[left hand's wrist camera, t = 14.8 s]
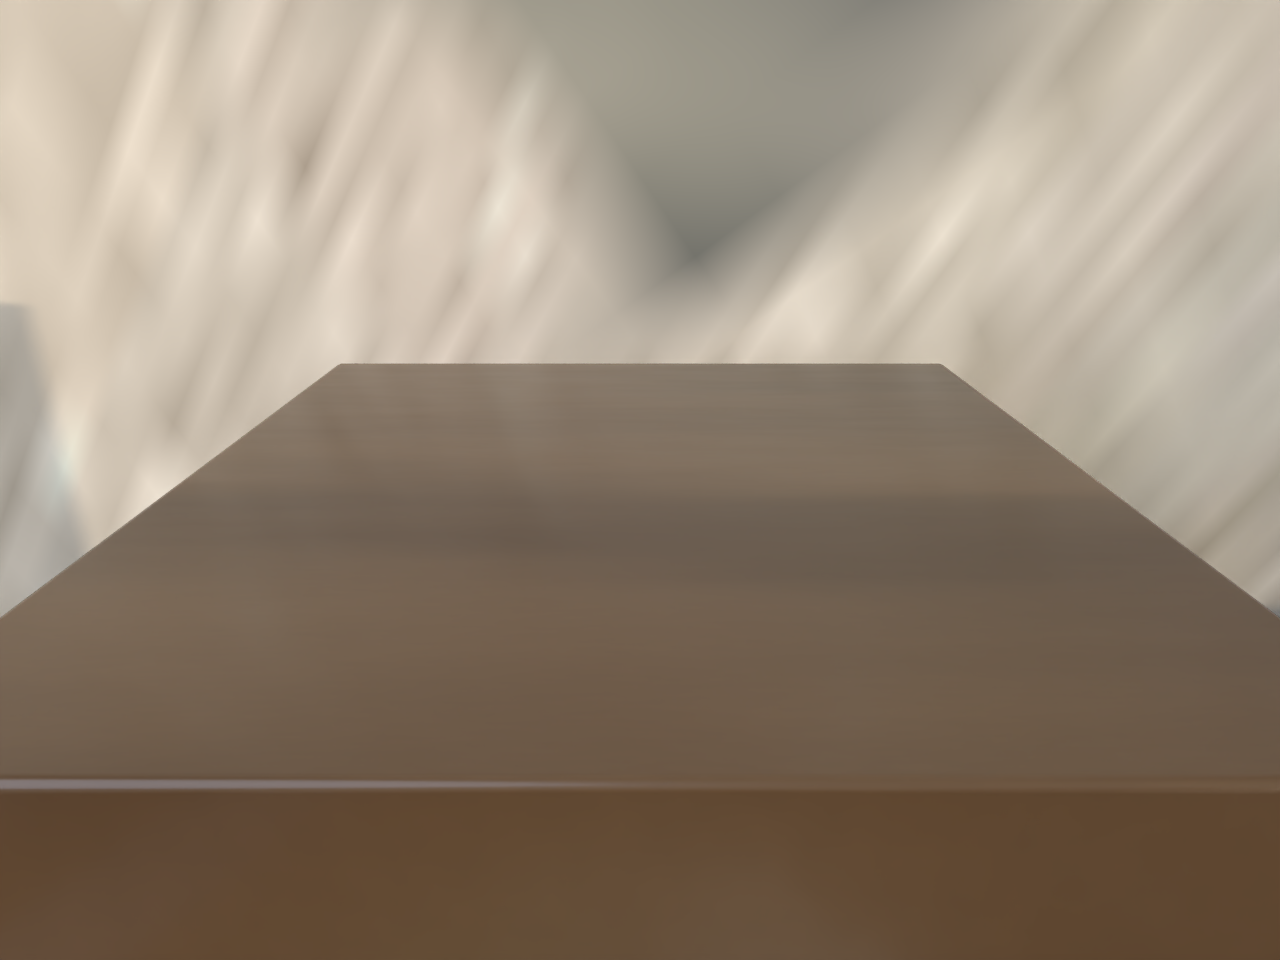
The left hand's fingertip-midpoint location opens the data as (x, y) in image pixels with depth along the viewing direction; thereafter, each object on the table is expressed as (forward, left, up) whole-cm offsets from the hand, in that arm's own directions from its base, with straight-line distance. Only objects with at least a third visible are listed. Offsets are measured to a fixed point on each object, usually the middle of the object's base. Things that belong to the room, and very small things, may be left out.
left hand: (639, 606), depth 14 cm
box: (+7, +6, -1) cm, 10 cm away
